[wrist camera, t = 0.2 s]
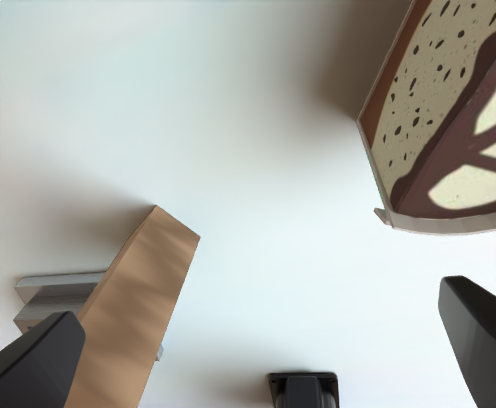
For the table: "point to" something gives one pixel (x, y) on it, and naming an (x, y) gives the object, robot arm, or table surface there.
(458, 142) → the food container
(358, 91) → the table surface
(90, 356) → the walnut post
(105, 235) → the table surface
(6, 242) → the table surface
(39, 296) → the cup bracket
